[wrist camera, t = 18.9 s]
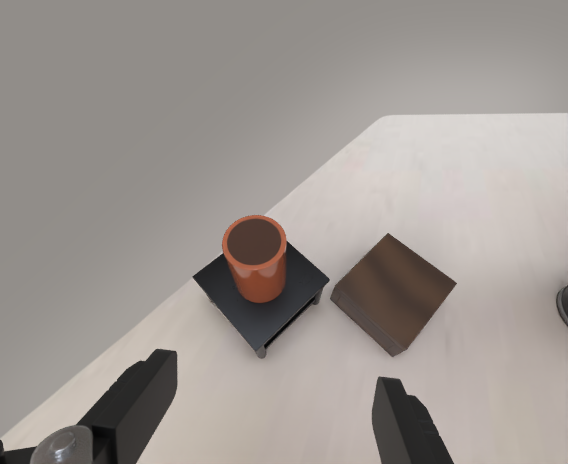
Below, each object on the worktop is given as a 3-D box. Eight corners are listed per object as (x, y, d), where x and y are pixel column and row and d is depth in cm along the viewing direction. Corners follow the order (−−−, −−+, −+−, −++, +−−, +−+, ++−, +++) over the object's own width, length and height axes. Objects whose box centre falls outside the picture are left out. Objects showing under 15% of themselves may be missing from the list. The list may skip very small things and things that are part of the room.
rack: (267, 249, 46) (264, 221, 40) (322, 301, 42) (330, 279, 35) (207, 298, 42) (192, 276, 35) (261, 362, 37) (255, 351, 30)
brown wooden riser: (378, 249, 46) (388, 232, 42) (440, 296, 42) (457, 283, 38) (329, 298, 42) (334, 285, 38) (392, 357, 38) (406, 349, 33)
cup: (263, 247, 37) (257, 204, 30) (296, 279, 35) (299, 241, 27) (225, 277, 35) (208, 239, 27) (258, 314, 33) (250, 283, 25)
